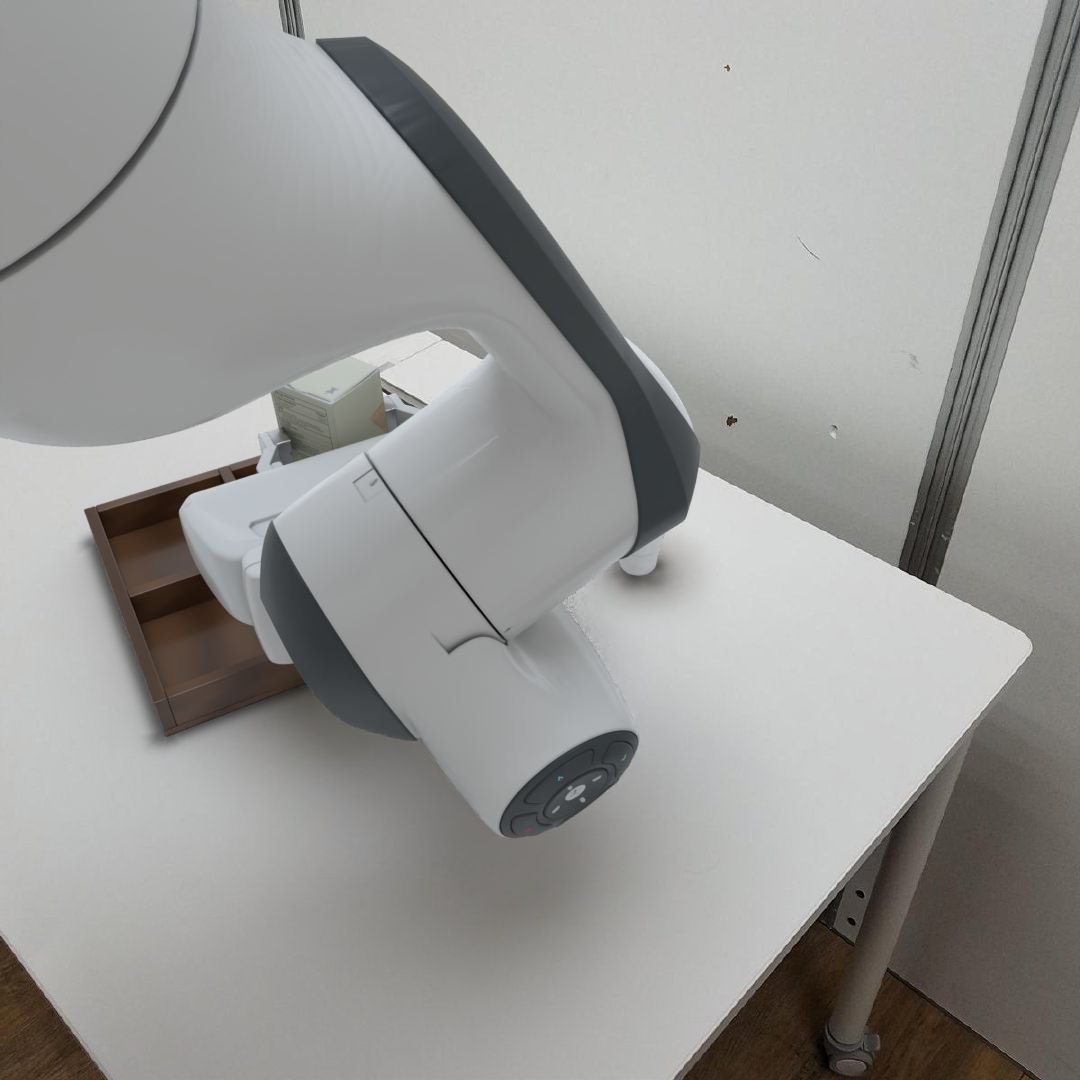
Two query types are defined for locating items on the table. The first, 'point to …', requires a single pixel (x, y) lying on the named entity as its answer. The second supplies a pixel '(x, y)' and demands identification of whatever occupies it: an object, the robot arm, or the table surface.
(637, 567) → the lightbulb
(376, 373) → the box
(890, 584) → the table surface
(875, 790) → the table surface
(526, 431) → the robot arm
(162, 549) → the grid
